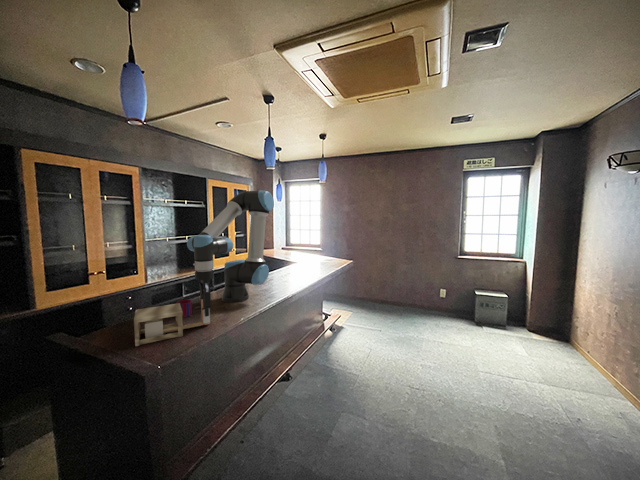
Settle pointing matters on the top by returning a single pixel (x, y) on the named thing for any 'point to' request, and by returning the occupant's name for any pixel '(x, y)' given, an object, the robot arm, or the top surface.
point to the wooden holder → (158, 313)
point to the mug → (186, 307)
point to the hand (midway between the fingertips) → (205, 321)
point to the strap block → (156, 328)
